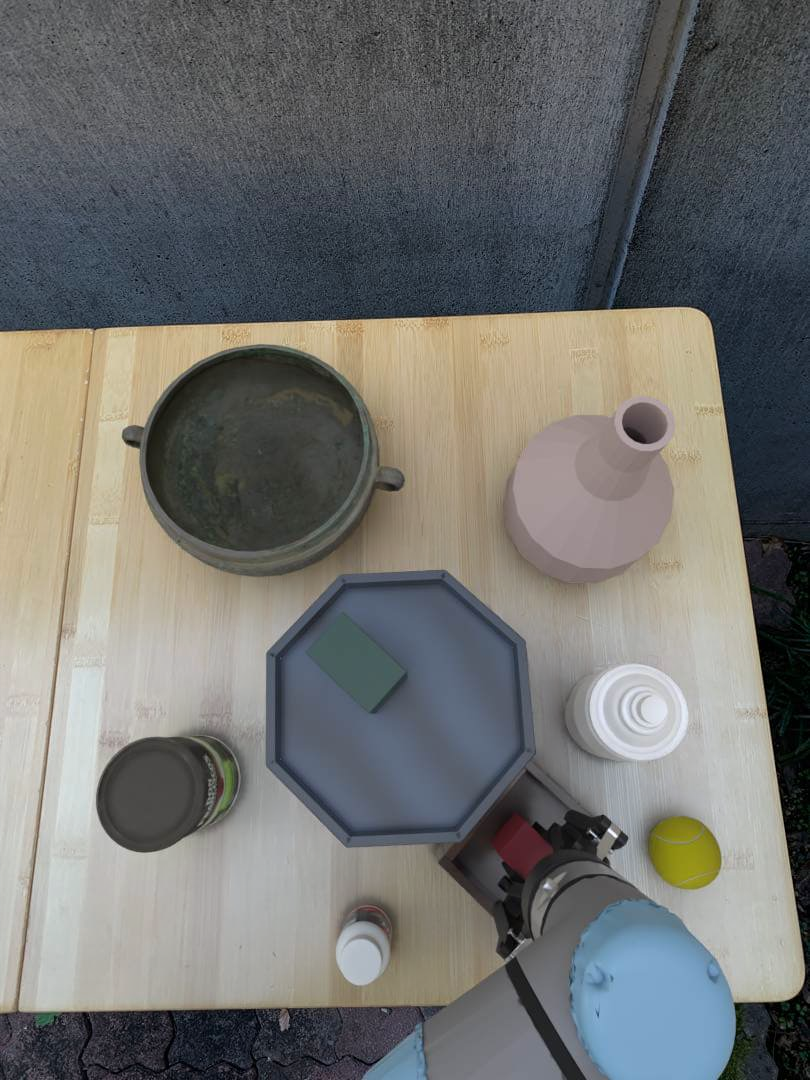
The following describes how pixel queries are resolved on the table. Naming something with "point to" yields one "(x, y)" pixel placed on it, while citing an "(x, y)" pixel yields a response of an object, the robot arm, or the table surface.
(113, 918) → the table surface
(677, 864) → the tennis ball
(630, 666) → the white stepped cylinder
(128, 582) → the table surface
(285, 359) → the bowl
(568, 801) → the holder
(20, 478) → the table surface
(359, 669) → the packet green
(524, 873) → the red rectangular block
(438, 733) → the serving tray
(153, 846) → the coffee can
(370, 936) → the pill bottle
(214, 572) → the table surface
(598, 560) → the vase
